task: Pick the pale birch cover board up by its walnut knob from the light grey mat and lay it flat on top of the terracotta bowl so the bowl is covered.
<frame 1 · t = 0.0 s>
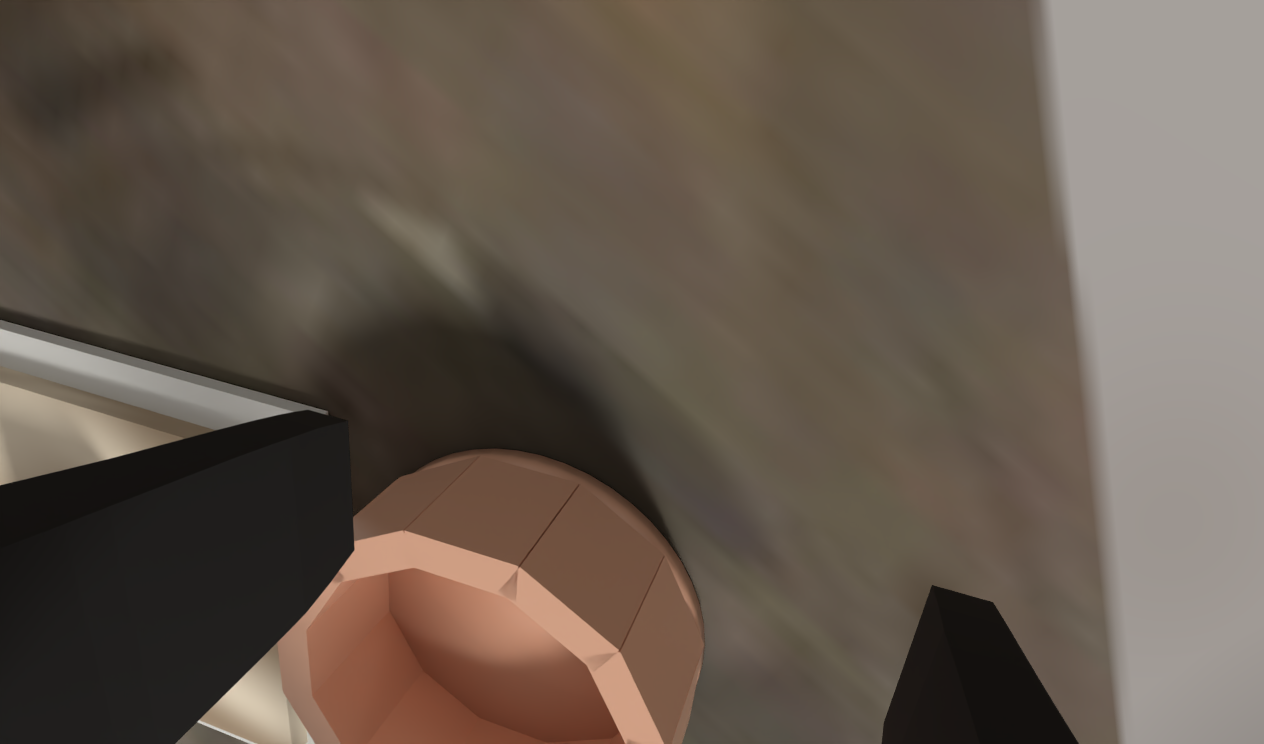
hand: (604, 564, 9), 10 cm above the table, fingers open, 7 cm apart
bowl: (530, 607, 24), on the table
cover board: (145, 557, 28), resting on mat
mat: (156, 549, 29), on the table
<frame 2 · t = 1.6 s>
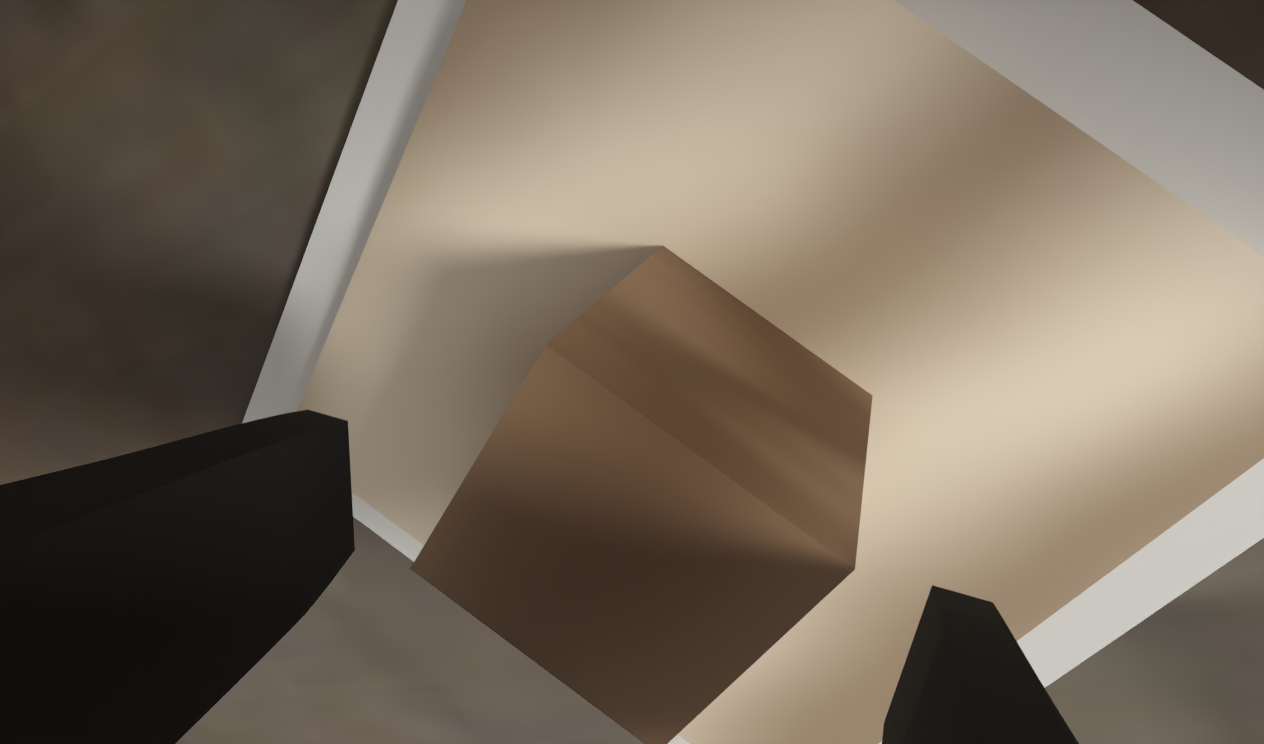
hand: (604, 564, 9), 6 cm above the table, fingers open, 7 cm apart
cover board: (708, 390, 14), resting on mat
mat: (714, 379, 14), on the table
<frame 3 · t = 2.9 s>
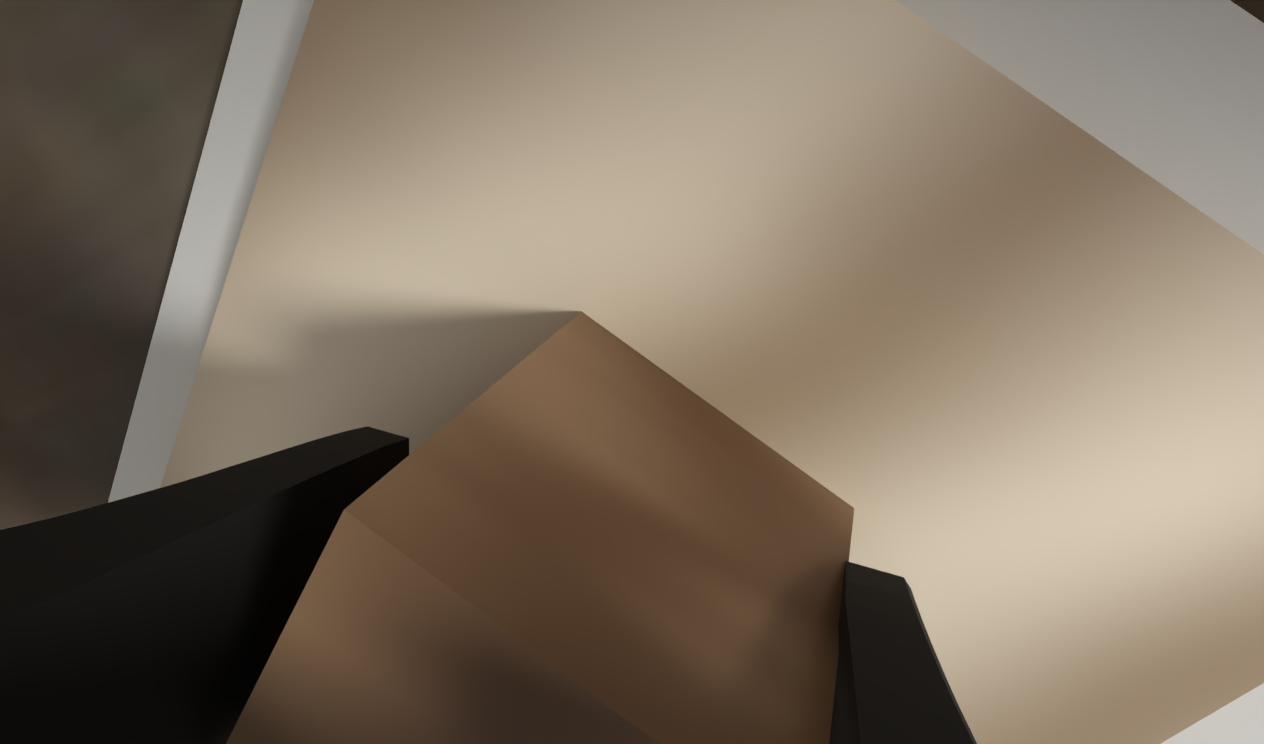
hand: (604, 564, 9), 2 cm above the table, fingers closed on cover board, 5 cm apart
cover board: (650, 484, 11), resting on mat, touching gripper
mat: (660, 467, 11), on the table
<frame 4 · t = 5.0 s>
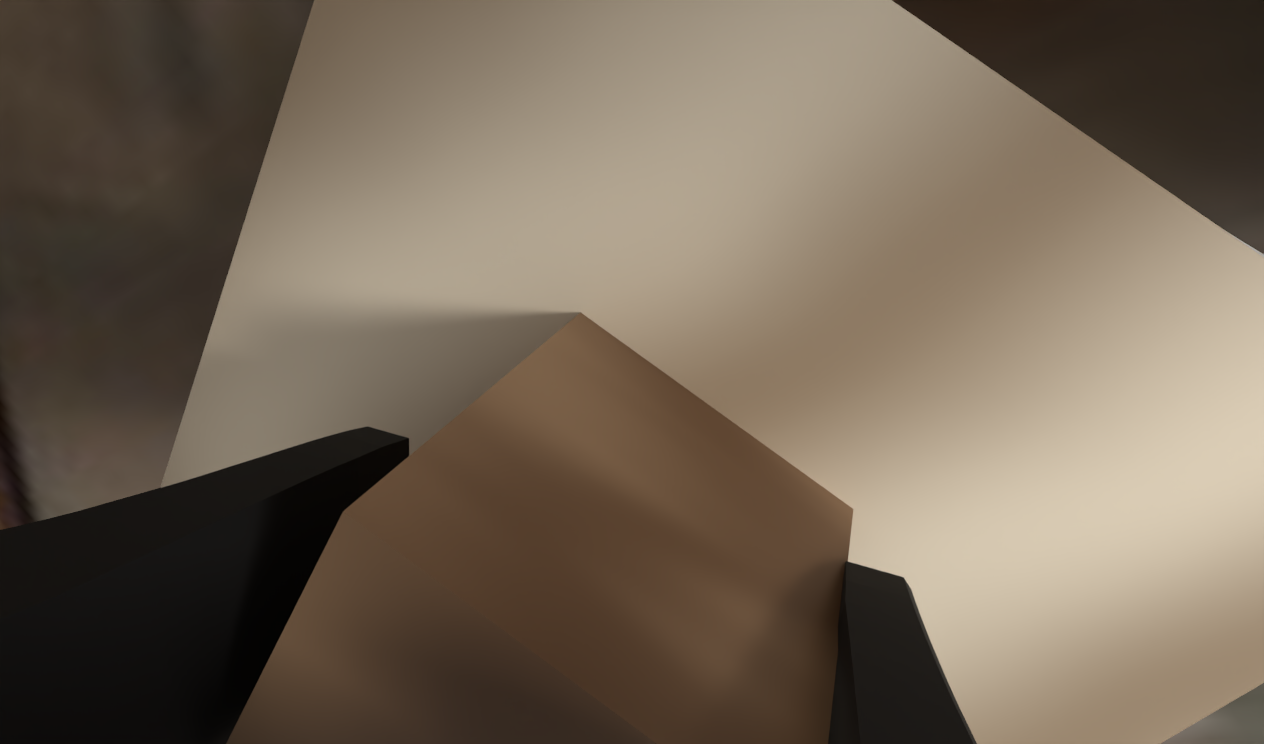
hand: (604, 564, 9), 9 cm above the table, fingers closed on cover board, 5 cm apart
cover board: (649, 485, 11), point 7 cm above the table, touching gripper
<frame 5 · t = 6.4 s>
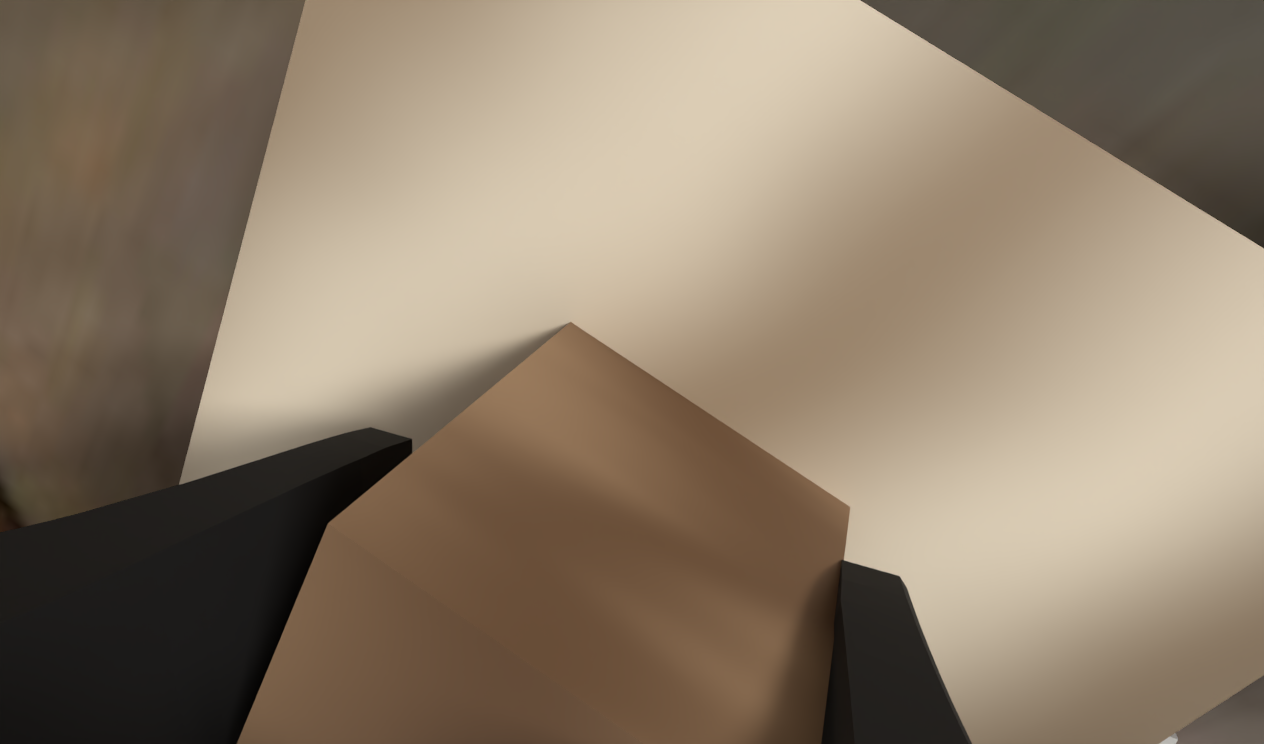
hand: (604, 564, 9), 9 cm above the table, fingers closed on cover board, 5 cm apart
cover board: (649, 491, 11), point 7 cm above the table, touching gripper
when the fingers open (7 cm above the table, at t = 7.6 s): cover board stays where it is, resting on bowl.
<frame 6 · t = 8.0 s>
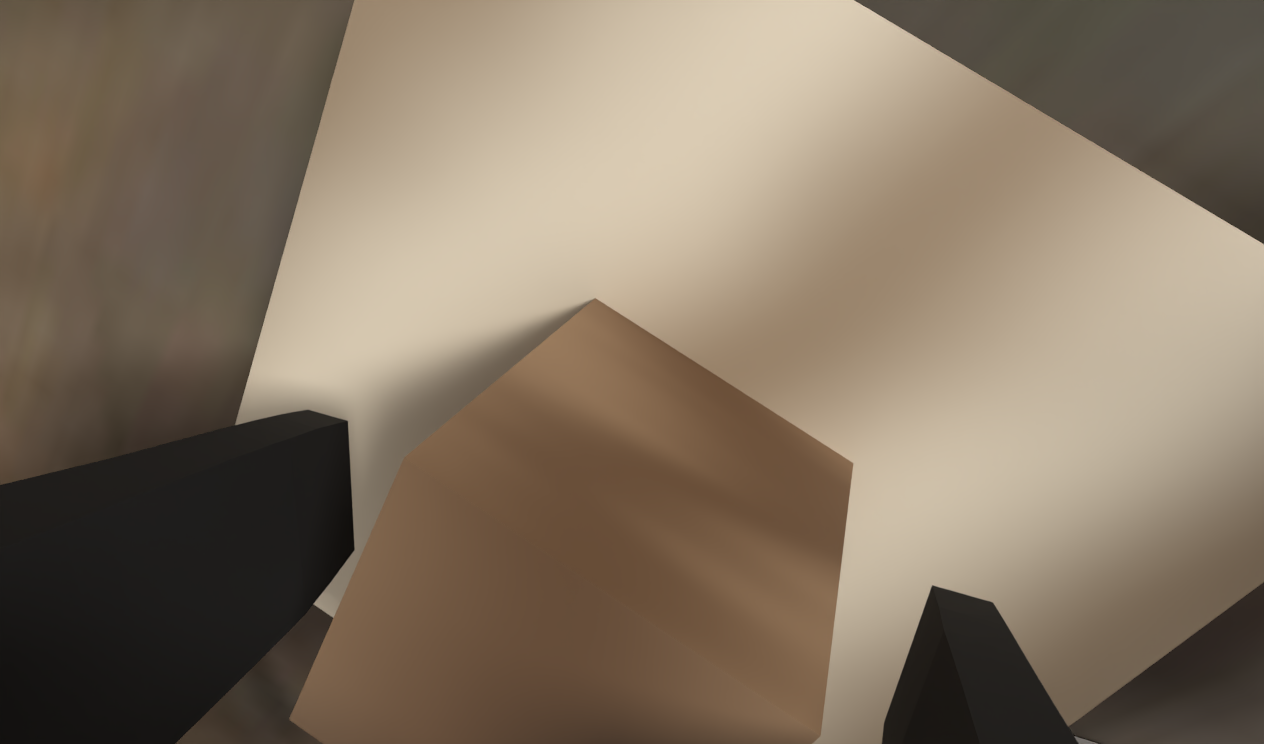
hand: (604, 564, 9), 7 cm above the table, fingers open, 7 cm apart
cover board: (667, 457, 12), point 4 cm above the table, touching bowl
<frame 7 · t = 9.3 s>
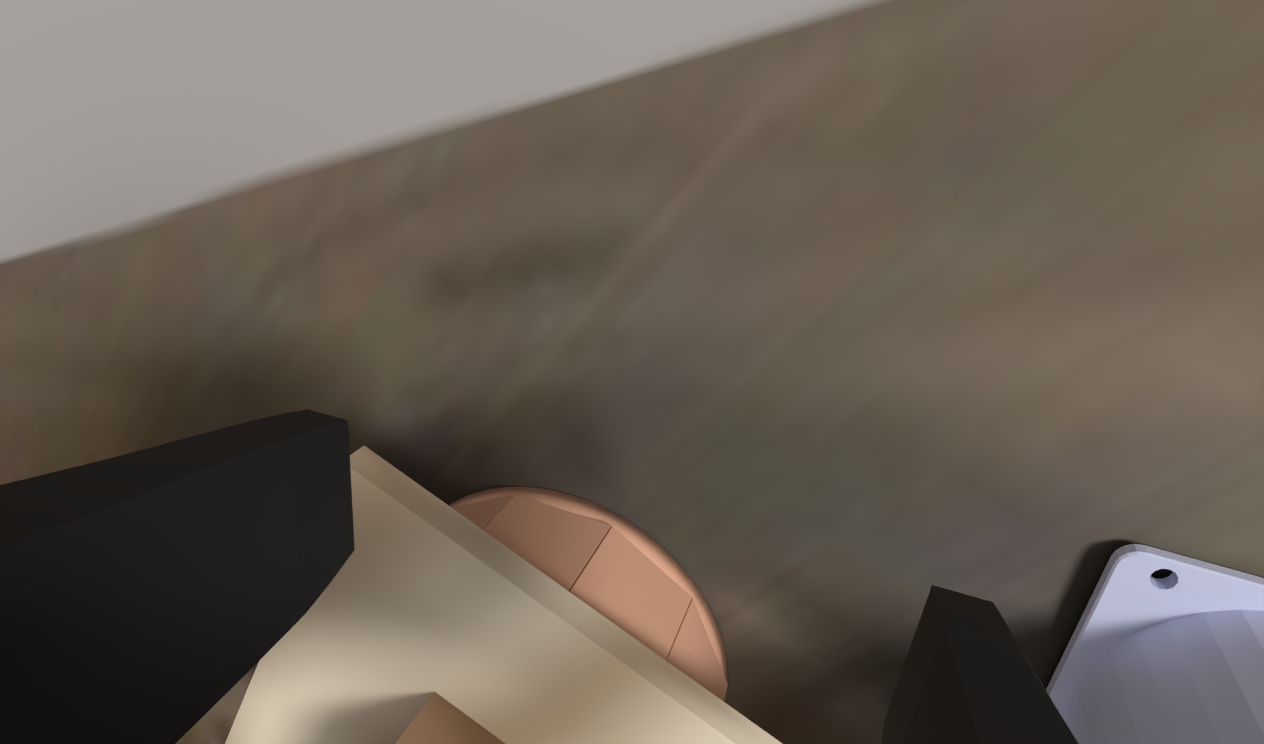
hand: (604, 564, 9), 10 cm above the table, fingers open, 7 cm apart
bowl: (556, 640, 24), on the table
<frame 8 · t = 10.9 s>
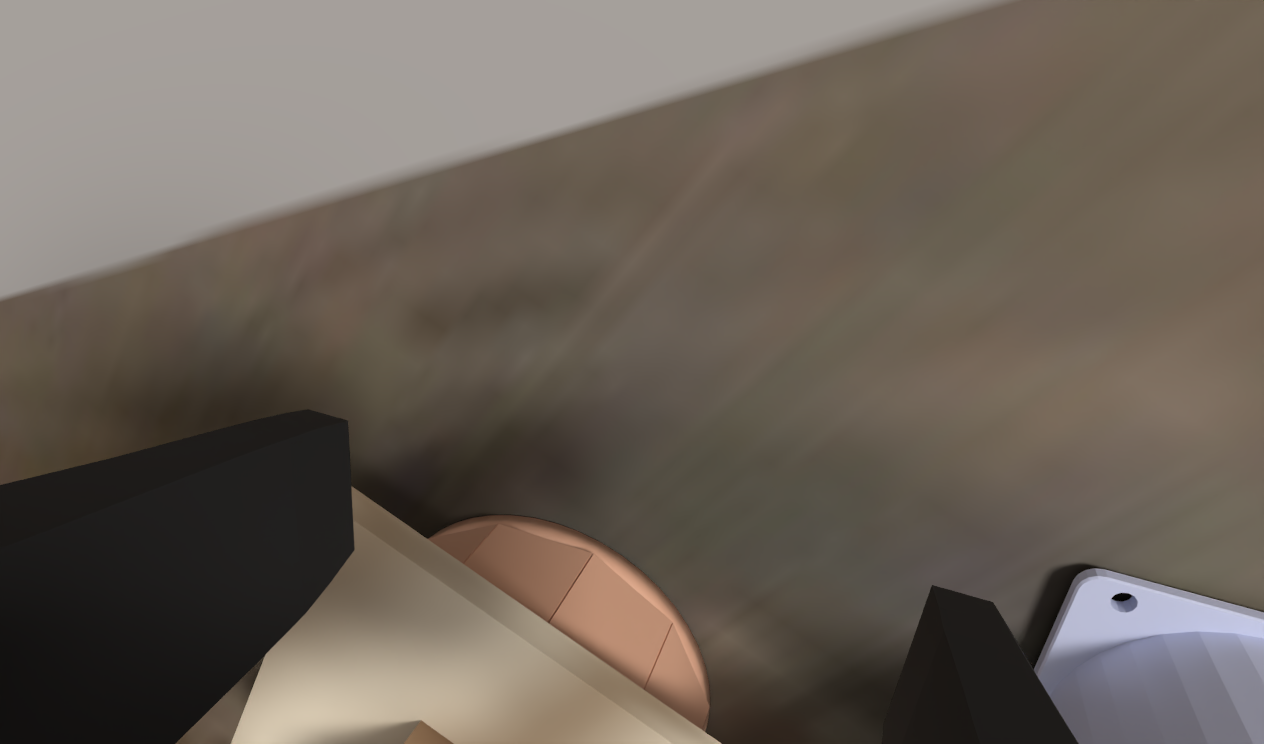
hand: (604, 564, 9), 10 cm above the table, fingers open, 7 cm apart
bowl: (543, 663, 25), on the table
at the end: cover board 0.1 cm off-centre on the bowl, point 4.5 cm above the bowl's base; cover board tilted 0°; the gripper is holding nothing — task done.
